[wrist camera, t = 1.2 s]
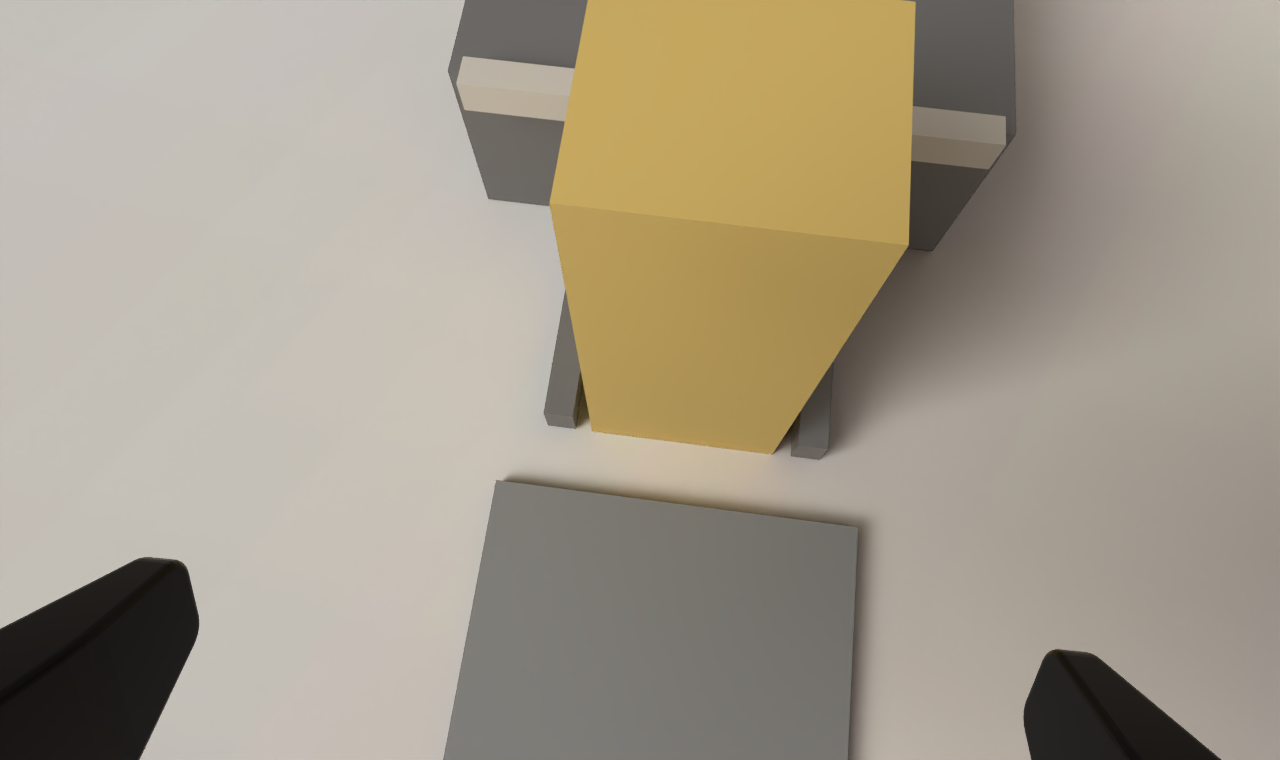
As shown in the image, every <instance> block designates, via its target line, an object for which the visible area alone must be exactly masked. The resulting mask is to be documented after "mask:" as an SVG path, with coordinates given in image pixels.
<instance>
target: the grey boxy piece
mask: <svg viewBox="0 0 1280 760" xmlns="http://www.w3.org/2000/svg"><path fill="white" fill-rule="evenodd" d="M904 1H914V2H916V6H915V41H914V76H913V111H912V146H911V181H910V216H909V246H908V247H907V248H912V249H920V250H929V251H933V249H934V248H935V247H936V245H937V244H938V242H939V241H940V240H941V238H942V237H943V235H944V234H945V233H946V231H947V230H948V228H949V227H950V226H951V224H952V223H953V221H954V220H955V219H956V217H957V216H958V215H959V213H960V212H961V210H962V209H963V208H964V206H965V205H966V203H967V202H968V201H969V199H970V198H971V196H972V195H973V194H974V192H975V191H976V189H977V188H978V187H979V185H980V184H981V182H982V181H983V180H984V178H985V177H986V175H987V174H988V173H989V171H990V170H991V168H992V167H993V166H994V164H995V163H996V161H997V160H998V159H999V157H1000V156H1001V154H1002V153H1003V152H1004V150H1005V149H1006V148H1007V146H1008V145H1009V143H1010V142H1011V141H1012V139H1013V138H1014V136H1015V135H1016V107H1015V55H1014V4H1013V0H904ZM587 2H588V0H465V4H464V8H463V12H462V16H461V20H460V24H459V28H458V32H457V36H456V40H455V44H454V48H453V52H452V56H451V60H450V64H449V68H448V73H449V76H450V79H451V82H452V85H453V88H454V92H455V95H456V98H457V101H458V104H459V107H460V111H461V114H462V117H463V120H464V123H465V126H466V129H467V133H468V136H469V139H470V142H471V145H472V148H473V152H474V155H475V158H476V161H477V164H478V167H479V171H480V174H481V177H482V180H483V183H484V186H485V189H486V193H487V196H488V199H494V200H503V201H511V202H520V203H528V204H537V205H545V206H550V204H549V203H550V197H551V192H552V187H553V181H554V176H555V171H556V166H557V160H558V155H559V150H560V144H561V139H562V134H563V129H564V123H565V118H566V113H567V107H568V102H569V97H570V92H571V86H572V81H573V76H574V70H575V65H576V60H577V55H578V49H579V44H580V39H581V33H582V28H583V23H584V18H585V12H586V7H587ZM832 374H833V362H832V364H831V365H830V367H829V368H828V370H827V371H826V373H825V374H824V376H823V377H822V379H821V380H820V382H819V384H818V385H817V387H816V388H815V390H814V391H813V393H812V394H811V396H810V397H809V399H808V400H807V402H806V403H805V405H804V407H803V408H802V410H801V411H800V413H799V414H798V416H797V417H796V419H795V420H794V422H793V433H792V446H791V456H794V457H802V458H809V459H817V460H819V459H820V458H821V457H822V456H823V455H824V453H825V452H826V451H827V450H828V442H829V425H830V408H831V391H832ZM582 386H583V380H582V375H581V369H580V364H579V359H578V353H577V348H576V343H575V337H574V332H573V327H572V321H571V316H570V311H569V305H568V300H567V295H566V289H565V295H564V300H563V306H562V312H561V317H560V323H559V329H558V335H557V340H556V346H555V352H554V357H553V363H552V369H551V374H550V380H549V386H548V392H547V397H546V403H545V409H544V415H545V418H546V421H547V424H548V425H551V426H558V427H566V428H574V429H576V423H577V417H578V410H579V404H580V398H581V392H582Z"/></svg>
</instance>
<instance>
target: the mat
mask: <svg viewBox="0 0 1280 760" xmlns="http://www.w3.org/2000/svg"><path fill="white" fill-rule="evenodd" d="M857 542H858V527H852V526H845V525H837V524H829V523H822V522H814V521H806V520H799V519H791V518H783V517H776V516H768V515H760V514H753V513H745V512H737V511H730V510H722V509H714V508H707V507H699V506H691V505H684V504H676V503H668V502H661V501H653V500H645V499H638V498H630V497H622V496H615V495H607V494H599V493H592V492H584V491H576V490H569V489H561V488H553V487H546V486H538V485H530V484H523V483H515V482H507V481H500V480H496V484H495V489H494V495H493V500H492V505H491V511H490V516H489V521H488V526H487V532H486V537H485V542H484V547H483V553H482V558H481V563H480V569H479V574H478V579H477V584H476V590H475V595H474V600H473V605H472V611H471V616H470V621H469V627H468V632H467V637H466V642H465V648H464V653H463V658H462V664H461V669H460V674H459V679H458V685H457V690H456V695H455V700H454V706H453V711H452V716H451V722H450V727H449V732H448V737H447V743H446V748H445V753H444V758H443V760H848V742H849V719H850V697H851V675H852V653H853V631H854V608H855V586H856V564H857Z"/></svg>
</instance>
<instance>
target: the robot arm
mask: <svg viewBox="0 0 1280 760" xmlns="http://www.w3.org/2000/svg"><path fill="white" fill-rule="evenodd" d="M198 630H199V615H198V611H197V607H196V602H195V598H194V594H193V589H192V585H191V581H190V577H189V573H188V570H187V567H186V566H185V565H184V564H183V563H182V562H180V561H178V560H173V559H163V558H153V557H143V558H139V559H137V560H134V561H132V562H130V563H128V564H126V565H124V566H122V567H121V568H119V569H117V570H115V571H113V572H111V573H109V574H107V575H105V576H103V577H101V578H99V579H97V580H95V581H93V582H91V583H89V584H87V585H85V586H83V587H81V588H79V589H77V590H75V591H74V592H72V593H70V594H68V595H66V596H64V597H62V598H60V599H58V600H56V601H54V602H52V603H50V604H48V605H46V606H44V607H42V608H40V609H38V610H36V611H34V612H32V613H30V614H28V615H27V616H25V617H23V618H21V619H19V620H17V621H15V622H13V623H11V624H9V625H7V626H5V627H3V628H1V629H0V760H139V759H140V757H141V755H142V753H143V751H144V749H145V747H146V745H147V743H148V741H149V739H150V736H151V734H152V732H153V730H154V728H155V726H156V724H157V722H158V720H159V717H160V715H161V713H162V711H163V709H164V707H165V705H166V703H167V701H168V698H169V696H170V694H171V692H172V690H173V688H174V686H175V684H176V682H177V679H178V677H179V675H180V673H181V671H182V669H183V667H184V665H185V663H186V660H187V658H188V656H189V654H190V652H191V650H192V648H193V646H194V643H195V641H196V638H197V635H198ZM1024 728H1025V733H1026V737H1027V742H1028V746H1029V751H1030V755H1031V760H1221V759H1220V758H1219V757H1217V756H1216V755H1215V754H1214V753H1213V752H1211V751H1210V750H1209V749H1208V748H1207V747H1205V746H1204V745H1203V744H1202V743H1201V742H1199V741H1198V740H1197V739H1196V738H1195V737H1193V736H1192V735H1191V734H1190V733H1189V732H1187V731H1186V730H1185V729H1184V728H1183V727H1181V726H1180V725H1179V724H1178V723H1177V722H1175V721H1174V720H1173V719H1172V718H1171V717H1169V716H1168V715H1167V714H1166V713H1165V712H1163V711H1162V710H1161V709H1160V708H1159V707H1157V706H1156V705H1155V704H1154V703H1153V702H1151V701H1150V700H1149V699H1148V698H1147V697H1145V696H1144V695H1143V694H1142V693H1141V692H1139V691H1138V690H1137V689H1136V688H1135V687H1133V686H1132V685H1131V684H1130V683H1129V682H1127V681H1126V680H1125V679H1124V678H1123V677H1121V676H1120V675H1119V674H1118V673H1117V672H1115V671H1114V670H1113V669H1112V668H1111V667H1109V666H1108V665H1107V664H1106V663H1105V662H1103V661H1102V660H1101V659H1100V658H1098V657H1097V656H1095V655H1093V654H1091V653H1087V652H1080V651H1070V650H1060V649H1056V650H1051V651H1050V652H1048V653H1047V654H1046V655H1045V657H1044V659H1043V661H1042V664H1041V666H1040V668H1039V671H1038V673H1037V676H1036V678H1035V681H1034V683H1033V686H1032V688H1031V691H1030V693H1029V696H1028V698H1027V700H1026V704H1025V708H1024Z"/></svg>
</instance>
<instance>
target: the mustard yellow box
mask: <svg viewBox="0 0 1280 760" xmlns="http://www.w3.org/2000/svg"><path fill="white" fill-rule="evenodd" d="M915 6H916V2H914V1H904V0H588V2H587V7H586V12H585V18H584V23H583V28H582V33H581V39H580V44H579V49H578V55H577V60H576V65H575V70H574V76H573V81H572V86H571V92H570V97H569V102H568V107H567V113H566V118H565V123H564V129H563V134H562V139H561V144H560V150H559V155H558V160H557V166H556V171H555V176H554V181H553V187H552V192H551V197H550V203H549V204H550V209H551V214H552V220H553V225H554V230H555V236H556V241H557V246H558V252H559V257H560V262H561V268H562V273H563V278H564V284H565V289H566V295H567V300H568V305H569V311H570V316H571V321H572V327H573V332H574V337H575V343H576V348H577V353H578V359H579V364H580V369H581V375H582V380H583V385H584V391H585V396H586V402H587V407H588V412H589V418H590V423H591V428H592V431H594V432H602V433H609V434H617V435H625V436H633V437H641V438H649V439H656V440H664V441H672V442H680V443H688V444H696V445H703V446H711V447H719V448H727V449H735V450H743V451H750V452H758V453H766V454H773V453H774V451H775V449H776V448H777V446H778V445H779V443H780V442H781V440H782V439H783V437H784V436H785V434H786V433H787V431H788V430H789V428H790V426H791V425H792V423H793V422H794V420H795V419H796V417H797V416H798V414H799V413H800V411H801V410H802V408H803V407H804V405H805V403H806V402H807V400H808V399H809V397H810V396H811V394H812V393H813V391H814V390H815V388H816V387H817V385H818V384H819V382H820V380H821V379H822V377H823V376H824V374H825V373H826V371H827V370H828V368H829V367H830V365H831V364H832V362H833V361H834V359H835V357H836V356H837V354H838V353H839V351H840V350H841V348H842V347H843V345H844V344H845V342H846V341H847V339H848V338H849V336H850V334H851V333H852V331H853V330H854V328H855V327H856V325H857V324H858V322H859V321H860V319H861V318H862V316H863V315H864V313H865V311H866V310H867V308H868V307H869V305H870V304H871V302H872V301H873V299H874V298H875V296H876V295H877V293H878V292H879V290H880V289H881V287H882V285H883V284H884V282H885V281H886V279H887V278H888V276H889V275H890V273H891V272H892V270H893V269H894V267H895V266H896V264H897V262H898V261H899V259H900V258H901V256H902V255H903V253H904V252H905V250H906V249H907V247H908V246H909V216H910V181H911V146H912V111H913V76H914V41H915Z"/></svg>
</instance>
